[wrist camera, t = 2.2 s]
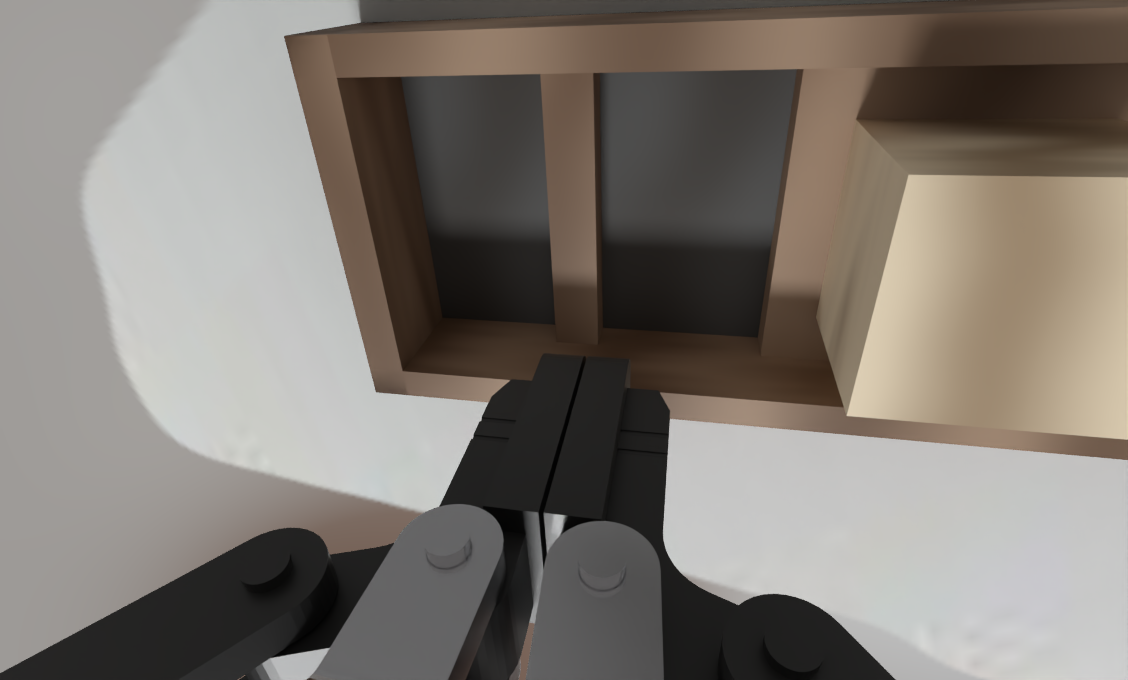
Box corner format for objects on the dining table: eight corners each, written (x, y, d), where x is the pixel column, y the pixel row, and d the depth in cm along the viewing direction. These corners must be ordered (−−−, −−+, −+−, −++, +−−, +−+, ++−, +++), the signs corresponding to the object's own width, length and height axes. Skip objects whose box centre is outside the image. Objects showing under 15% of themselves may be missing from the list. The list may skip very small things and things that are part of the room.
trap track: (1709, -29, 13) (2201, -24, 8) (1362, 398, 18) (1552, 525, 14) (359, 22, 19) (259, 40, 14) (420, 333, 24) (362, 409, 20)
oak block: (1117, 118, 15) (1279, 179, 11) (1029, 329, 18) (1127, 439, 14) (855, 119, 16) (908, 174, 12) (816, 317, 19) (846, 415, 15)
